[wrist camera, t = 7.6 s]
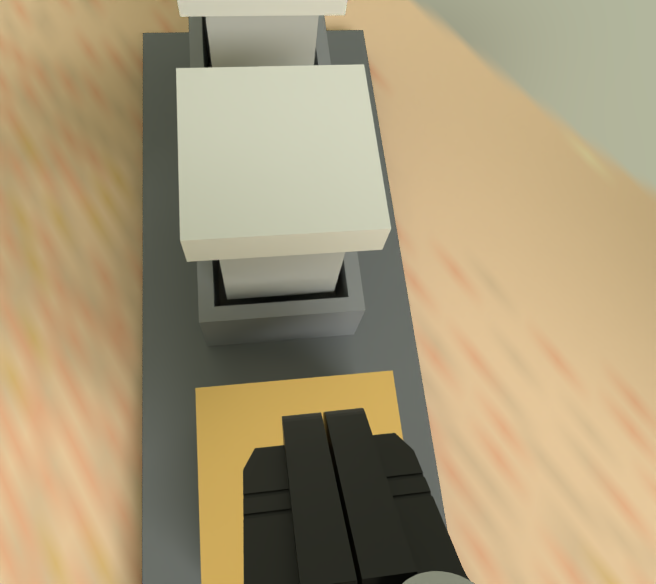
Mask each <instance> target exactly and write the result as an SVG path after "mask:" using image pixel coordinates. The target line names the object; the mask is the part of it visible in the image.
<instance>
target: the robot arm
mask: <svg viewBox="0 0 656 584" xmlns="http://www.w3.org/2000/svg"><path fill="white" fill-rule="evenodd" d="M282 430H283V444H284V445H280V446H271V447H261V448H255V449H254V451H253V452H252V454H251V456H250V458H249V460H248V462H247V463H246V465H245V467H244V469H243V518H244V520H243V554H244V584H474V583H473V582H471V581H470V580H469V578H468V577H467V576H466V574H465V572H464V570H463V568H462V565H461V563H460V560H459V558H458V556H457V553H456V551H455V548H454V546H453V544H452V541H451V539H450V536H449V534H448V532H447V529H446V527H445V524H444V522H443V519H442V517H441V515H440V512H439V510H438V507H437V505H436V503H435V500H434V498H433V496H431V490H430V488H429V486H428V483H427V481H426V478H425V477H424V476H423V471H422V469H421V466H420V464H419V461H418V459H417V457H416V454H415V452H414V450H413V449H412V448H411V447H410V446H409V445H408V444H407V443H405V442H404V441H403V440H402V439H401V438H400V437H399V436H398V435H397V434H396V433H387V434H378V435H372V431H371V428H370V425H369V422H368V419H367V416H366V413H365V411H364V409H363V408H356V409H346V410H336V411H327V412H324V413H323V418H322V414H321V412H319V413H309V414H299V415H290V416H282Z"/></svg>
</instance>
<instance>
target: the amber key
mask: <svg viewBox="0 0 656 584" xmlns="http://www.w3.org/2000/svg"><path fill="white" fill-rule="evenodd" d="M195 392H196V425H197V458H198V490H199V523H200V556H201V584H244V554H243V520H244V518H243V469H244V467H245V465H246V463H247V462H248V460H249V458H250V456H251V454H252V452H253V451H254V449H255V448H261V447H271V446H280V445H284V444H283V430H282V416H290V415H299V414H309V413H319V412H321V414H322V418H323V413H324V412H327V411H336V410H346V409H356V408H363V409H364V411H365V413H366V416H367V419H368V422H369V425H370V428H371V431H372V435H378V434H387V433H396V434H397V435H398V436H399V437H400V438H401V439H402V440H403V435H402V429H401V422H400V415H399V409H398V402H397V396H396V389H395V383H394V376H393V370H392V371H380V372H369V373H358V374H347V375H335V376H324V377H313V378H302V379H291V380H279V381H268V382H257V383H246V384H234V385H223V386H212V387H201V388H195Z"/></svg>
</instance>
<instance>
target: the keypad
mask: <svg viewBox="0 0 656 584" xmlns="http://www.w3.org/2000/svg"><path fill="white" fill-rule="evenodd" d="M357 64H364V67H365V73H366V79H367V85H368V91H369V97H370V103H371V109H372V115H373V122H374V128H375V134H376V140H377V146H378V152H379V158H380V164H381V170H382V176H383V182H384V188H385V194H386V200H387V206H388V212H389V218H390V224H391V230H390V233H389V235H388V237H387V240H386V242H385V244H384V247H383V249H382V250H369V251H353V252H345V255H344V259H343V262H342V266H341V269H340V272H339V276H338V279H337V283H336V286H335V290H334V292H327V293H312V294H298V295H284V296H270V297H256V298H242V299H227V296H226V291H225V286H224V281H223V276H222V271H221V266H220V261H219V260H208V261H192V262H187V260H186V257H185V254H184V251H183V248H182V245H181V242H180V217H179V174H178V131H177V87H176V68H210V67H212V63H211V56H210V48H209V40H208V33H207V25H206V17H205V16H198V17H189V32H185V33H143V417H142V584H201V556H200V523H199V490H198V458H197V425H196V392H195V388H201V387H212V386H223V385H234V384H246V383H257V382H268V381H279V380H291V379H302V378H313V377H324V376H335V375H347V374H358V373H369V372H380V371H392V370H393V376H394V383H395V389H396V396H397V402H398V409H399V415H400V422H401V429H402V435H403V441H404V442H405V443H407V444H408V445H409V446H410V447H411V448H412V449H413V450H414V452H415V454H416V457H417V459H418V461H419V464H420V466H421V469H422V471H423V476H424V477H425V478H426V481H427V483H428V486H429V488H430V490H431V496H433V498H434V500H435V503H436V505H437V507H438V510H439V512H440V515H441V517H442V519H443V522H444V524H445V527H446V529H447V525H446V519H445V514H444V508H443V502H442V496H441V490H440V484H439V478H438V472H437V466H436V460H435V454H434V448H433V442H432V436H431V431H430V425H429V419H428V413H427V407H426V401H425V395H424V389H423V383H422V377H421V371H420V365H419V359H418V353H417V348H416V342H415V336H414V330H413V324H412V318H411V312H410V306H409V300H408V294H407V288H406V282H405V276H404V270H403V265H402V259H401V253H400V247H399V241H398V235H397V229H396V223H395V217H394V211H393V205H392V199H391V193H390V188H389V182H388V176H387V170H386V164H385V158H384V152H383V146H382V140H381V134H380V128H379V122H378V116H377V110H376V105H375V99H374V93H373V87H372V81H371V75H370V69H369V63H368V57H367V51H366V45H365V39H364V33H363V30H342V31H326V25H325V18H324V15H319V17H318V28H317V38H316V48H315V58H314V65H357ZM447 532H448V531H447Z"/></svg>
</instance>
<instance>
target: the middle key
mask: <svg viewBox="0 0 656 584" xmlns="http://www.w3.org/2000/svg"><path fill="white" fill-rule="evenodd" d="M176 87H177V131H178V174H179V217H180V242H181V245H182V248H183V251H184V254H185V257H186V260H187V262H192V261H208V260H219V261H220V266H221V271H222V276H223V281H224V286H225V291H226V296H227V299H242V298H256V297H270V296H284V295H298V294H312V293H327V292H334V290H335V286H336V283H337V279H338V276H339V272H340V269H341V266H342V262H343V259H344V255H345V252H353V251H369V250H382V249H383V247H384V244H385V242H386V240H387V237H388V235H389V233H390V230H391V224H390V218H389V212H388V206H387V200H386V194H385V188H384V182H383V176H382V170H381V164H380V158H379V152H378V146H377V140H376V134H375V128H374V122H373V115H372V109H371V103H370V97H369V91H368V85H367V79H366V73H365V67H364V64H357V65H308V66H259V67H210V68H176Z"/></svg>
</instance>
